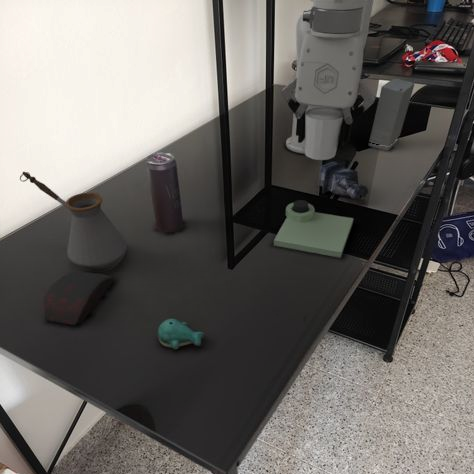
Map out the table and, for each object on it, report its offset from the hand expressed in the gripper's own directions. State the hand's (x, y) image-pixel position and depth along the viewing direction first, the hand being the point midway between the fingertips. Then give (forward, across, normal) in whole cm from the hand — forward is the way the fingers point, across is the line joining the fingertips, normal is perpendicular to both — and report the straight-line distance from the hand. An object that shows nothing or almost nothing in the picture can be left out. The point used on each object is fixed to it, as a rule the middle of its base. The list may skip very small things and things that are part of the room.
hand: (321, 141), depth 79 cm
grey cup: (+2, 0, 0) cm, 2 cm away
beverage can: (+19, -30, -7) cm, 37 cm away
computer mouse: (+19, -34, -35) cm, 53 cm away
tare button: (+16, -4, +5) cm, 17 cm away
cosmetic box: (+19, +9, +55) cm, 59 cm away
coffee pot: (+19, -42, -23) cm, 52 cm away
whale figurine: (+19, -12, -39) cm, 45 cm away
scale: (+19, +1, 0) cm, 19 cm away
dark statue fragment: (+19, +3, +20) cm, 28 cm away
